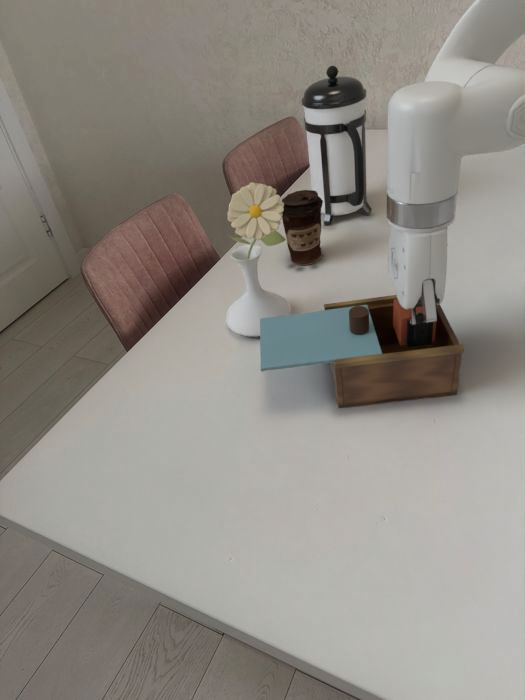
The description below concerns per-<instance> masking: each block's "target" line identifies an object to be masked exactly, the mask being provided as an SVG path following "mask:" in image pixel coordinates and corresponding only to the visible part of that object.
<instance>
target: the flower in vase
mask: <svg viewBox="0 0 525 700" xmlns="http://www.w3.org/2000/svg"><path fill="white" fill-rule="evenodd" d="M283 207H284V203H283V202H282V200H281V196H280V195H279V194H277V188H273V187H272V186H271V185H266V184H263V183H257V182H254V181H253V182H252V181H251V182H249V184H247V185H245V186H242V187H240V190H237V191H236V192H233V193H232V194H231V199H230V202H229V204H228V211H227V214H226V215H227V221H228V222H229V223H231V224H230V226H231V228H233V229H235V230H234V233H235V234H236V235H238V236H239V237H235V236H231V235H229V234H226V236H227V237H228V238H230V239H231V240H232V241H235V242H237V243H240V244H241V243H242V244H244V245H240V246H237V247H236V248H234V249H233V250H232V251H231V252H230V258H231V259H232V260H234V261H235V262H236V264H237V265H238V266H239V268H240V270H241V272H242V275H243V279H244V282H245V292H244V293H243V294H242V295H240V297H238V298H237V299H235V301H233V303H232V304H231V305H230V306H229V308H228V309H227V311H226V316H225V324H226V325H227V327H228V328H229V329H230V330H231V331H233V332H234V333H236V334H238V335H239V336H244V337H252V338H253V337H260V319H261V318H269V317H277V316H284V315H292V307H291V305H290V304H289V301H288V300H287V299H286V298H285V297H284V296H281V295H279V294H277V293H275V292H272V291H269V290H265V289H263V288H262V286H261V284H260V281H259V280H260V279H259V272H258V265H259V259H260V256H261V255H262V253H263V248H262V247H261V246H260V245H258V244H256V241H261V242H262V243H263V244H264V245H266V246H267V247H272V246H276V245H279V244H281V243H283V242H285V241H287V238H286V237H285V236H283V235H282V234H281V233H279V231H277V230H278V229H279V228H280V225H281V221H282V216H283V214H282V212H283V211H284V208H283ZM243 237H244V238H246V239H249V240H250V239H253V241H252V243H251V242H249V241H247V240H246V239H244V238H243Z"/></svg>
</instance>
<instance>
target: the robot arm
mask: <svg viewBox="0 0 525 700" xmlns="http://www.w3.org/2000/svg"><path fill="white" fill-rule="evenodd" d="M523 35H525V0H475V1H474V2H473V3H472V4H471V5H470V6H469V7H468V8H467V9H466V10H465V12H464V13H463V14H462V16H461V17H460V18H459V19H458V21H457V22H456V24H455V25H454V27H453V28H452V30H451V32H450V34H449V35H448V37H447V38H446V40H445V42H444V43H443V45H442V47H441V48H440V50H439V52H438V53H437V54H436V57H435V59H434V60H433V62H432V64H431V66H430V67H429V69H428V71H427V74H426V76H425V79H424V80H423V81H421V82H415V83H411V84H408V85H406V86H403V87H401V88H399V89H397V90H396V91H395V92H394V93H393V94H392V96H391V98H390V99H389V102H388V104H387V105H388V106H387V133H386V134H387V135H386V136H387V140H386V141H387V142H386V143H387V145H386V148H387V149H386V154H387V155H386V222H387V224H388V226H389V239H388V255H387V274H388V278H389V280H390V283H391V286H392V289H393V291H394V295H396V296H397V298H398V301H399V303H400V305H401V306H402V307H403V308H404V309H409V308H410V321H407V336H406V344H407V346H408V347H415V346H423V345H430V344H431V343H432V334H433V323H434V322H436V321H437V314H436V305H435V303H436V304H437V305H440V306H441V304H442V303H443V301H444V298H445V291H446V282H447V266H448V227H450V226H451V225H452V224H454V222H455V219H456V211H457V201H458V193H459V184H460V172H461V163H462V159H463V158H464V157H466V156H473V155H474V156H475V155H483V154H493V153H501V152H506V151H509V150H512V149H515V148H517V147H520V146H522V145H524V144H525V69H522V68H521V69H520V68H516V67H511V66H505V65H500V64H496V63H497V62H498V61H499V59H500V58H501V56H502V55H503V54H504V53H505V52H506V51H507V50H508V49H509V48H510V47H511V46H512V45H513V44H514V43H515V42H516V41H517V40H519V39H520V38H521V37H522V36H523ZM420 297H422V299H419V298H420ZM416 307H423V313H418V314H417V315H416Z"/></svg>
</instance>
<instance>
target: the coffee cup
mask: <svg viewBox="0 0 525 700" xmlns="http://www.w3.org/2000/svg"><path fill="white" fill-rule="evenodd" d="M281 202H283V203H284V207H283V208H284V211H283V212H282V214H283V216H282V219H281V221H282V225H283V229H284V234H285V239H286V245H287V249H288V251H289V254H290V261H291V263H293V264H295V265H297V266H298V265H299V266H306V265H311V264H314V263H316V262H318V261H319V260H321V259H322V257H323V253H322V247H321V233H322V213H321V208H322V203H323V201H322V199H321V198H320V197H319V196H318V193H317V192H316V191H313V190H312V189H302V190H296V191H293V192H291V193H288V194H287V195H285V196H284V197H283V198H282V199H281Z"/></svg>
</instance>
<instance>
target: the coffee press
mask: <svg viewBox="0 0 525 700" xmlns="http://www.w3.org/2000/svg"><path fill="white" fill-rule="evenodd" d="M325 74H326V76H327V78H323V79H320V80H317V81H315V82H313V83H312V84H310V85H309V86H308V87H307V88H306V90H305V91H304V94H303V97H302V98H301V105H302V107H303V108H304V109H303V110H304V121H303V122H304V129H305V131H306V142H307V149H308V150H307V153H308V163H309V174H310V175H309V176H310V185H311V190H313V191H316V192H317V193H318V196H319V197H320V198H321V199H322V201H323V203H322V208H321V214H323V215H324V218H323V225H325V226H332V223H333V220H334V217H335V216H343V215H348V214H349V215H350V214H352V213H355V212H357V211H360V212H361V213H362V214H364V216H369V215H370V214H371V213H372V212H373V208H372V207H371V206H370V204H369V202H368V199H367V198H368V197H367V196H368V195H367V153H366V152H367V149H366V148H367V147H366V121H367V110H366V107H365V105H366V104H365V103H366V102H365V101H366V99H367V98H366V97H367V89H366V88H364V85H363V83H362V82H361V81H360V80H359V79H358V78H355V77H352V76H351V77H350V76H338V74H339V70H338V67H337V66H336V65H330V66H329V67H327V69H326V72H325ZM364 206H365V208H366V209H367V210H368V211H367V210H366V209H365V208H364Z"/></svg>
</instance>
